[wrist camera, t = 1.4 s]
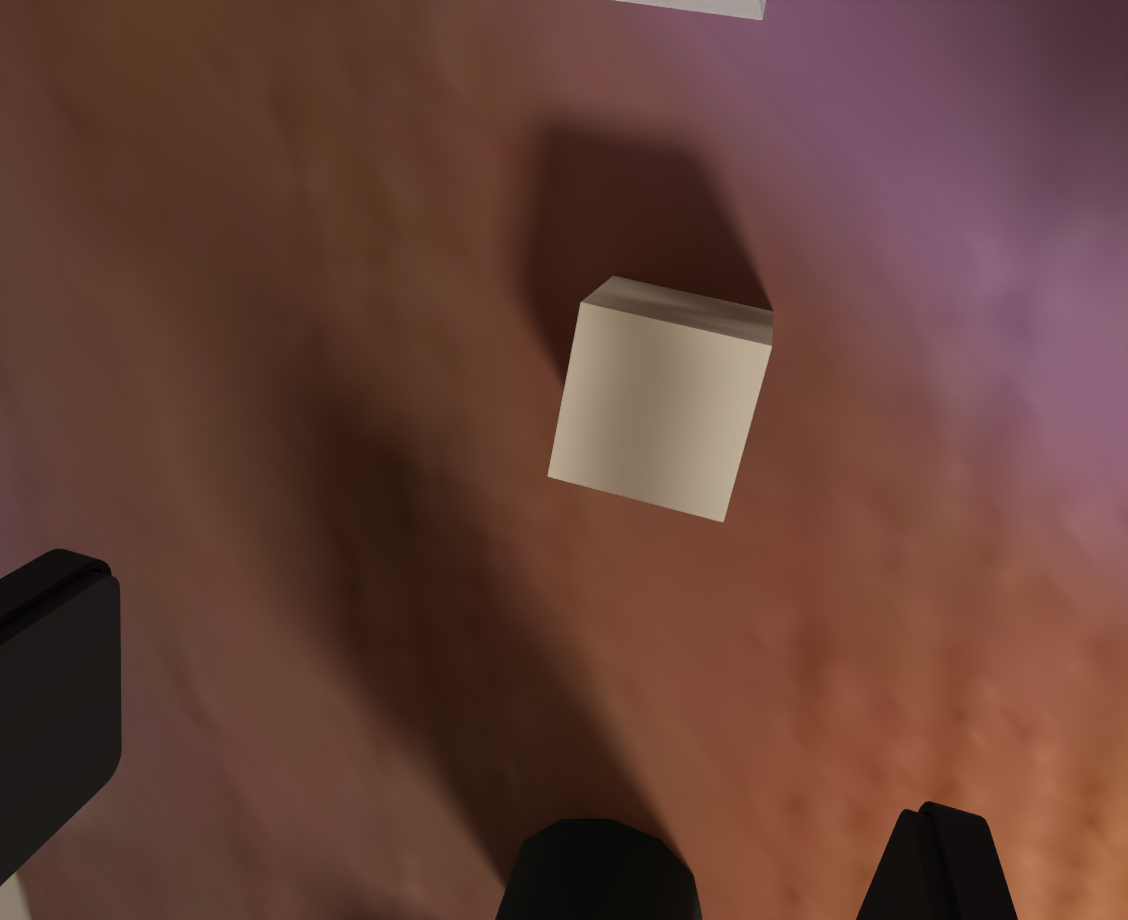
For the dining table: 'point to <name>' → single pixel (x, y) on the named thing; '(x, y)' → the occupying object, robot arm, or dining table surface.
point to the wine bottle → (598, 876)
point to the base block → (713, 6)
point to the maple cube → (660, 395)
